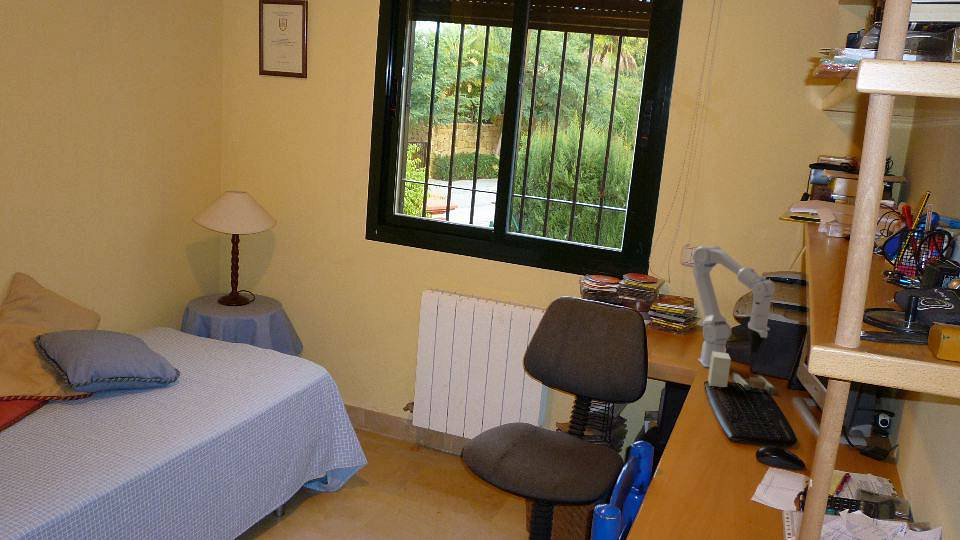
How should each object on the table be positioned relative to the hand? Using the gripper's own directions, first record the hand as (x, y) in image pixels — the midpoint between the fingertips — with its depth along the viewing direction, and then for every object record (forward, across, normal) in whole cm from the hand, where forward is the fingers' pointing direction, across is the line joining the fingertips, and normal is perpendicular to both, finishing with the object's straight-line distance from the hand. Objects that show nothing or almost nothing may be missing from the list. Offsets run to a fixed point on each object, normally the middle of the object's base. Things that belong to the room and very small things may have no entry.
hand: (753, 352), depth 280 cm
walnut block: (+10, -13, +2) cm, 16 cm away
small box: (+10, -12, +15) cm, 22 cm away
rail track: (+9, -10, +2) cm, 14 cm away
